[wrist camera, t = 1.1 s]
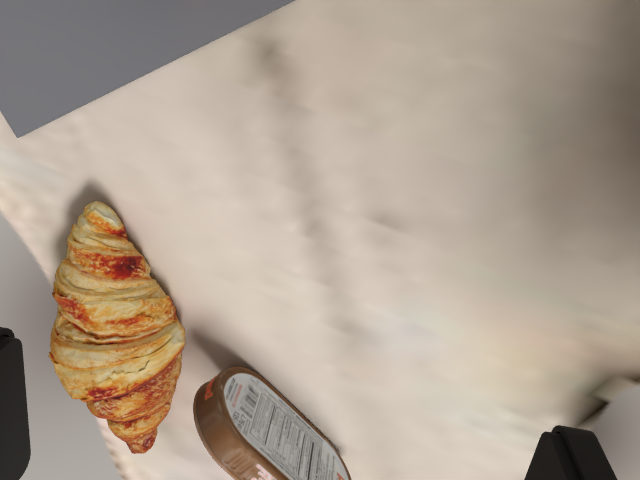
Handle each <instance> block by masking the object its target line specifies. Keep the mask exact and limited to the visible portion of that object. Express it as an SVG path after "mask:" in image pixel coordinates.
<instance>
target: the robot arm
mask: <svg viewBox="0 0 640 480" xmlns="http://www.w3.org/2000/svg"><path fill="white" fill-rule="evenodd" d="M30 452H31V450H30V438H29V425H28V412H27V401H26V387H25V375H24V362H23V351H22V343H21V341H20V340H19V339H17V338H15V337H14V333H13V332H12V330H10V329H8V328H2V327H0V480H19V479H20V478H21V476H22V475H23V474H24V472H25V470H26V468H27V466H28V463H29V460H30V454H31V453H30ZM524 480H617V478H616V476H615V474H614V472H613V470H612V468H611V466H610V464H609V462H608V460H607V458H606V456H605V454H604V452H603V450H602V448H601V445H600V444H599V442H598V439H597V437H596V436H595V434H594V433H593V432H591V431H589V430H583V429H577V428H571V427H566V426H560V425H558V426H555V427H554V428H553V430H552V432H544V433H543V434H542V435H541V437H540V440H539V442H538V445H537V448H536V450H535V453H534V456H533V458H532V461H531V464H530V466H529V469H528V472H527V474H526V477H525V479H524Z"/></svg>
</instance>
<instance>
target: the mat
mask: <svg viewBox="0 0 640 480" xmlns="http://www.w3.org/2000/svg"><path fill="white" fill-rule="evenodd" d="M292 1H294V0H0V111H1V113H2V114H3V116H4V117H5V119H6V121H7V122H8V124H9V126H10V127H11V129H12V130H13V132H14V134H15V135H16V137H17V138H19V137H21V136H23V135H25V134H27V133H29V132H31V131H33V130H35V129H37V128H39V127H41V126H43V125H45V124H47V123H49V122H51V121H53V120H55V119H57V118H59V117H61V116H63V115H65V114H67V113H69V112H71V111H73V110H75V109H77V108H79V107H81V106H83V105H86V104H88V103H90V102H92V101H94V100H96V99H98V98H100V97H102V96H104V95H106V94H108V93H110V92H112V91H114V90H116V89H118V88H120V87H122V86H124V85H126V84H128V83H130V82H132V81H134V80H136V79H138V78H140V77H142V76H144V75H146V74H148V73H150V72H152V71H154V70H156V69H158V68H160V67H162V66H164V65H166V64H168V63H170V62H172V61H174V60H176V59H178V58H180V57H182V56H184V55H186V54H188V53H190V52H192V51H194V50H196V49H198V48H200V47H202V46H204V45H206V44H208V43H210V42H212V41H214V40H216V39H218V38H220V37H222V36H224V35H226V34H228V33H230V32H232V31H234V30H236V29H238V28H240V27H242V26H244V25H246V24H248V23H250V22H252V21H254V20H256V19H258V18H260V17H262V16H264V15H266V14H268V13H270V12H272V11H274V10H276V9H278V8H280V7H282V6H284V5H286V4H288V3H290V2H292Z"/></svg>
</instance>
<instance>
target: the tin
mask: <svg viewBox="0 0 640 480" xmlns="http://www.w3.org/2000/svg"><path fill="white" fill-rule="evenodd" d="M193 413H194V420H195V425H196V428H197V431H198V433H199V436H200V438H201V440H202V442H203V444H204V446H205V448H206V449H207V451H208V452H209V454H210V455H211V456H212V458H213V459H214V460H215V461H216V462H217V464H218V465H219V466H220V467H221V468H223V469H224V470H225V471H226V472H227V473H228V474H229V475H230V476H231V477H233V478H234V479H235V480H351V477H350V474H349V472H348V470H347V467H346V465H345V463H344V462H343V460H342V458H341V456H340V455H339V453H338V452H337V450H336V449H335V448H334V446H333V445H332V444H331V443H330V442H329V440H328V439H327V438H326V437H325V436H324V435H323V434H322V433H321V432H319V431H318V430H317V429H316V428H315V427H314V426H313V425H312V424H311V423H310V422H309V421H308V420H307V419H306V418H305V417H304V416H303V415H302V414H301V413H300V412H299V411H298V410H297V409H296V408H295V407H294V406H293V405H292V404H291V403H290V402H288V401H287V400H286V399H285V398H284V397H283V396H282V395H281V394H280V393H279V392H278V391H277V390H276V389H275V388H274V387H273V386H272V385H271V384H270V383H269V382H268V381H266V380H265V379H264V378H263V377H262V376H260V375H259V374H257V373H255V372H254V371H252V370H250V369H247V368H244V367H230V368H228V369H225V370H224V371H222V372H221V373H219V374H218V375H217V376H215V377H214V378H213V379H212V380H211V381H209V382H207V383H205V384H203V385H202V386H201V387H200V388H199V390H198V391H197V393H196V395H195V398H194V404H193Z"/></svg>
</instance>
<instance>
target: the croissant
mask: <svg viewBox="0 0 640 480" xmlns="http://www.w3.org/2000/svg"><path fill="white" fill-rule="evenodd" d="M67 244H68V249H67V254H66V258H65V259H63V260H62V262H61V264H60V265H59V267H58V269H57V271H56V274H55V279H56V281H55V282H54V290H53V291H54V292H52V295H53V297H54V298H55V300H56V301H57V303H58V312H57V317H56V320H55V323H54V325H53V328H52V332H51V342H50V346H51V352H49V357H50V359H51V361H52V362H53V365H54V368H55V372H56V374H57V375H58V377H59V379H60V381H61V383H62V385H63V387H64V388H65V390H66V391H67V393H68V394H69V395H70V396H71V397H72V399H80V400H81V401H83V402H86V403H87V407H88V408H89V410H90V412H91V413H92V414H93V415H95V416H96V417H98V418H104V419H107V422H108V426H109V428H110V429H111V431H112V432H113V433H114V435H115V436H117V437H118V438H120V439H121V440H123V441H125V442H126V443H127V445H128V447H129V449H130V450H131V452H132V453H134V454H136V453H146V452H147V451H148V450H149V449H150V448H151V447H152V446H153V444H154V441H155V439H156V436H157V426H158V425H159V424H160V423H161V422H162V420H163V419H164V418H165V417H166V415H167V414H168V412H169V410H170V406H171V402H172V397H173V393H174V391H175V388H176V383H177V379H178V378H179V375H180V372H181V365H182V364H181V359H182V350H183V348H184V345H185V343H186V342H185V329H184V328H183V326H182V325H181V324H180V322H179V320H178V319H177V316H176V308H175V306H174V304H173V302H172V300H171V298H170V297H169V295H168V296H167V295H166V294H165V293H164V291H163V290H162V289H161V287H160V285H159V284H157V281H156V280H155V279H151V276H150V274H149V273H150V271H151V268H150V266H149V265H148V263H147V262H146V261H145V259H144V256H142V255H141V254H140V253H139V252H138V251H137V250H136V249H135V248H134V245H133V243H131V242H129V241H128V239H127V234H126V228H125V227H124V225H123V224H122V222H121V221H120V219H119V217H118V216H117V214H116V213H115V212H114V211H113V209H111V208H110V207H109V206H107V205H106V204H104V203H102V202H100V201H93V202H91V203H90V204H88V205H86V206H85V208H84V212H83V214H81V215H80V216H79V217H78V222H77V223H76V224H73V225H72V229H71V233H70V235H69V236H68V238H67Z"/></svg>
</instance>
